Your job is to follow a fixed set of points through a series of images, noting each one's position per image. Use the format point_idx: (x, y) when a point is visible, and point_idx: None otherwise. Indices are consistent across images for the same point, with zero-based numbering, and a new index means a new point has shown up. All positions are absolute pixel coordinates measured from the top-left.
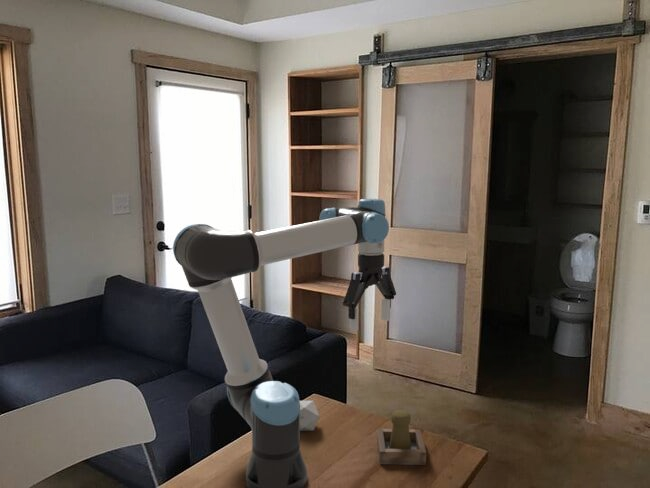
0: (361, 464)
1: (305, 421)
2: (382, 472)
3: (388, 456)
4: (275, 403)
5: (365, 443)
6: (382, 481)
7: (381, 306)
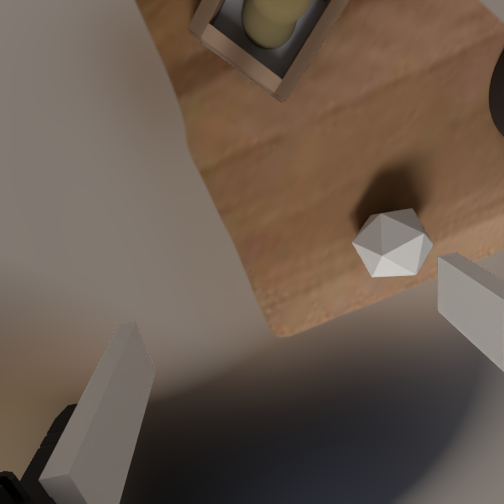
0: (379, 26)
1: (412, 214)
2: None
3: None
4: None
5: (312, 105)
6: None
7: (132, 452)
